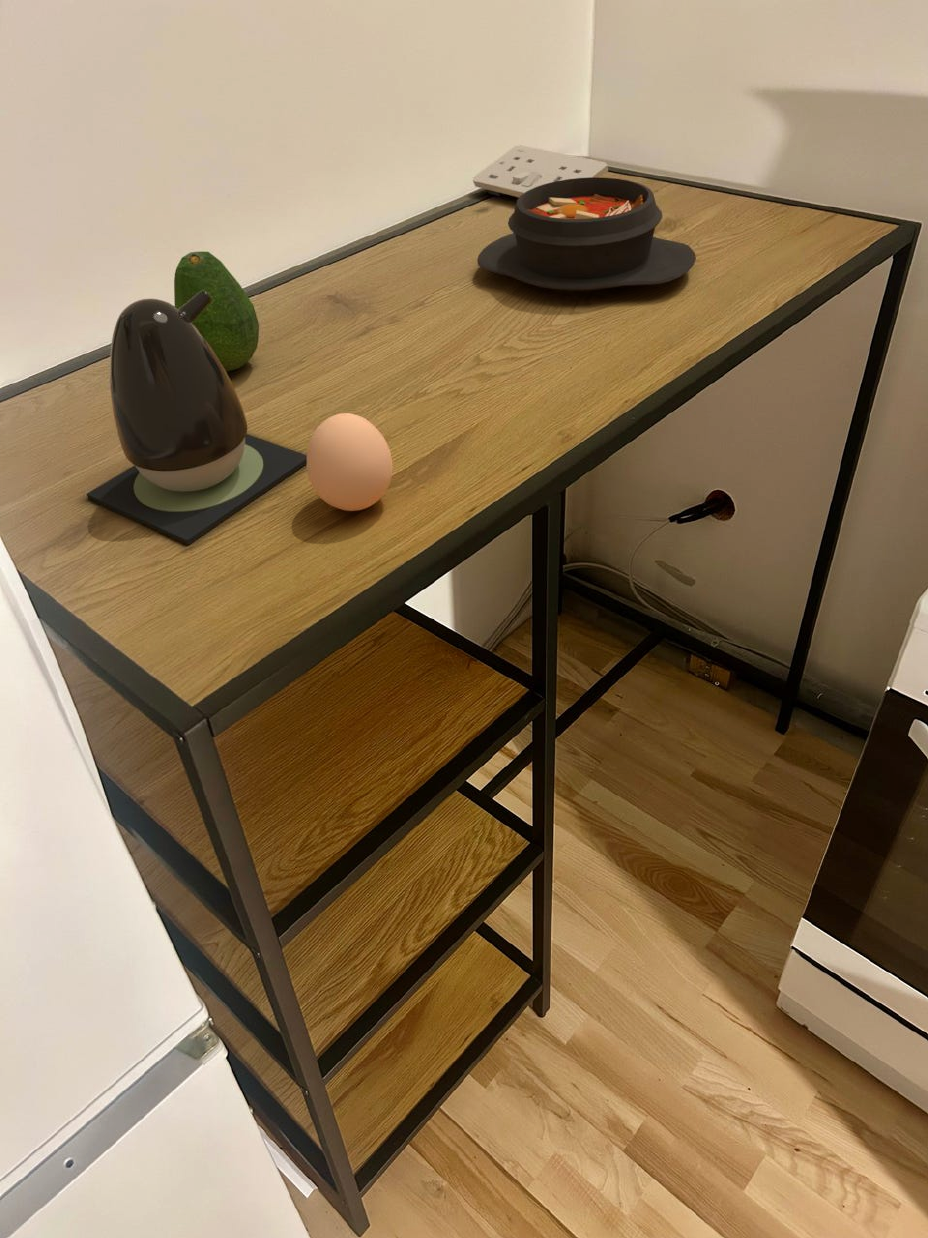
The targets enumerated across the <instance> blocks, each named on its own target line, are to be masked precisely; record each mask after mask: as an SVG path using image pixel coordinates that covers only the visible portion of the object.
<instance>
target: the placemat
mask: <svg viewBox="0 0 928 1238" xmlns="http://www.w3.org/2000/svg"><path fill="white" fill-rule="evenodd" d="M304 466H307V454H304V453H301V452H299V451H296V450H293V449H290V448H288V447H284V446H282V445H279V444H276V443H274V442H271V441H268V440H265V439H262V438H260V437H257V436H254V435H251V434H249V433H246V436H245V447H244V452H243V455H242V458H241V460H240V462H239V464H238V466H237V467H236V469H235V470H234V471H233V472H232V473H231V474H230V475H229V476H228V477H227V478H226V479H224V480H223V481H221V482H220V483H218V484H216V485H214V486H211V487H209V488H206V489H202V490H198V491H191V492H178V491H171V490H167V489H164V488H161V487H159V486H157V485H155V484H153V483H152V482H150V481H149V480H148V479H146V478H145V477H144V476H143V475H142V474H141V473H140V472H139V470H138V469H137V468H136V466H135V465H134V464H133V465H132V466H131V467H129V468H127V469H126V470H124V471H122V472H120V473H119V474H117V475H116V476H114V477H113V478H111V479H109V480H107V481H106V482H104V483H102V484H101V485H99V486H97V487H95V488H94V489H92V490H90V491H89V492H87V493H86V497H87V499H88V500H90V501H93V502H94V503H97V504H99V505H101V506H103V507H105V508H108V509H109V510H112V511H114V512H116V513H118V514H120V515H122V516H125V517H127V518H129V519H131V520H134V521H136V522H138V523H140V524H142V525H144V526H146V527H149V528H150V529H153V530H155V531H156V532H159V533H162V534H163V535H166V536H168V537H170V538H172V539H174V540H176V541H179V542H181V543H183V544H184V545H187V546H190V545H191V544H192V543H194V542H196V541H197V540H198V539H199V538H201V537H203V536H204V535H205V534H207V533H209V532H210V531H211V530H214V528H216V527H218V525H220V524H221V523H223V522H224V521H226V520H227V519H228V518H230V517H232V516H233V515H234V514H236V513H238V512H239V511H241V509H243V508H245V507H246V506H247V505H249V504H251V503H252V502H253V501H255V500H256V499H258V498H259V497H261V496H262V495H264V494H265V493H267V492H268V491H270V490H271V489H273V488H274V487H275V486H276V485H279V484H280V483H281V482H282V481H284V480H285V479H287V478H288V477H290V476H292V474H294V473H296V472H297V471H299V470H300V469H302V468H303V467H304Z"/></svg>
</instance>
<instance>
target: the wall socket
mask: <svg viewBox="0 0 928 1238" xmlns="http://www.w3.org/2000/svg"><path fill="white" fill-rule="evenodd" d="M608 172H609V165H608V164H607V162H606V161H600V160H597V159H591V158H587V157H581V156H576V155H572V154H568V153H567V154H566V153H563V152H562V153H561V152H556V151H553V150H552V151H551V150H547V149H542V148H537V147H532V146H527V145H522V144H519V145H514V146H513V147H512V148H510V149H509V150H508V151H506V152H505V153H503V155H501V156H500V157H499V158H497V159H496V160H494V161H493V162H492V163H490V164H489V165H487V166H486V167H485V168H484V169H482V170H481V171H480V172H478V173H477V174H476V175H474V176H473V177H472V183H473V184H474V187H476V188H480V189H484V190H487V191H488V194H489V195H493V196H498V197H501V196H502V195H509V196H512V197H515V198H516V199H518V198H519V197H520V196H521V195H522V194H524V193H525V192H526V191H528V190H530V189H533V188H535V187H538V186H541V185H543V184H547V183H551V182H555V181H561V180H567V179H575V178H590V177H598V178H602V177H603V176H604V175H605V174H607V173H608Z"/></svg>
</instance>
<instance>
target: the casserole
mask: <svg viewBox="0 0 928 1238" xmlns="http://www.w3.org/2000/svg"><path fill="white" fill-rule="evenodd" d="M662 219H663V211H662V210H661V209H660V207H659V206H658V205H657V202H656V199H655V195H654V192H653V191H652V189H651V188H649V187H648V186H646V185H644V184H641V183H639V182H636V181H632V180H628V179H622V178H616V177H600V178H598V177H590V178H575V179H567V180H561V181H555V182H551V183H547V184H543V185H541V186H538V187H535V188H533V189H530V190H528V191H526V192H525V193H524V194H522V195H521V196H520V197H519V198H517V200H516V204H515V207H514V211H513V212H512V214H510V216H509V217H508V220H507V225H508V228H509V230H510V231H511V232H512V233H509V234H507V235H504V236H501V237H498V239H496V240H494V241H492V242H491V243H489V244H488V245H486V246H485V247H484V248H483V249H482V250H481V251H480V252H479V254H478V256H477V259H476V262H477V266H479V267H480V268H482V269H483V270H484V271H487V272H491V273H493V274H496V275H502V276H507V277H511V278H513V279H516V280H518V281H520V282H523V283H525V284H528V285H531V286H535V287H539V288H543V289H551V290H558V291H564V292H591V291H600V290H601V291H602V290H605V289H611V288H612V289H613V288H619V287H620V288H621V287H631V286H632V287H633V286H655V285H656V286H657V285H662V284H667V283H669V282H672V281H673V280H676V279H678V278H680V277H682V276H684V275H685V274H687V273H688V272H689V271H690V270H691V269H692V268H693V267H694V265H695V263H696V260H697V257H696V252H695V251H694V249H693V248H691V246H690V245H688V244H686V243H683V242H679V241H675V240H669V239H665V238H661V237H660V238H659V237H656V236H654V234H655V231H656V228H657V226H658V225H659V224H660V223H661V221H662Z"/></svg>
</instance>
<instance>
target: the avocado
mask: <svg viewBox="0 0 928 1238" xmlns="http://www.w3.org/2000/svg"><path fill="white" fill-rule="evenodd" d="M202 290H204V291H206V292H208V293H209V295H210V296H211V302H210V303H209V305H208V306H207V307H206V308H205V309H204V310H203V311H202V313H201V314H200V315H199V316H198V317H197V318H196V319H195V321H194V322H193V325H194V326H195V327H196V328H197V329H198V331H199V332H200V333H201V334H202V335H203V337H204V338H205V339H206V341H207V342H208V343H209V345H210V346H211V348H212V349H213V351H214V352H215V354H216V355H217V357H218V358H219V360H220V362H221V363H222V365H223V367H224V369H225V371H226V372H227V373H228V372H231V371H235V370H238V369H240V368H241V367H242V366H244V365H245V364H246V363H247V362H249V361H250V360H251V359H252V357H253V356H254V355H255V353H256V351H257V349H258V344H259V335H260V323H259V320H258V316H257V312H256V309H255V306H254V303H252V300H251V299H250V298H249V296H248V295H247V293H246V292H245V290H244V289H243V287H242V286H241V284H240V283H239V282H238V281H237V279H236V278H235V277H234V276H233V274H232V273H231V271H229V269H228V268H227V267H226V265H225V264H224V263H223V262H222V260H220V259H219V258H217V256H215V255H214V254H212V253H211V252H209V251H191V252H189V253H187V254H185V255H183V256H181V259H180V260H179V262H178V264H177V266H176V268H175V270H174V277H173V295H174V298H173V299H174V306H175V307H176V308H177V309H179V308H180V307H182V306H183V305H184V304H185V303H187V302H188V301H189V300H190V299H191V298H193V297H194V296H195V295H196V294H198V293H199V292H200V291H202Z"/></svg>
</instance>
